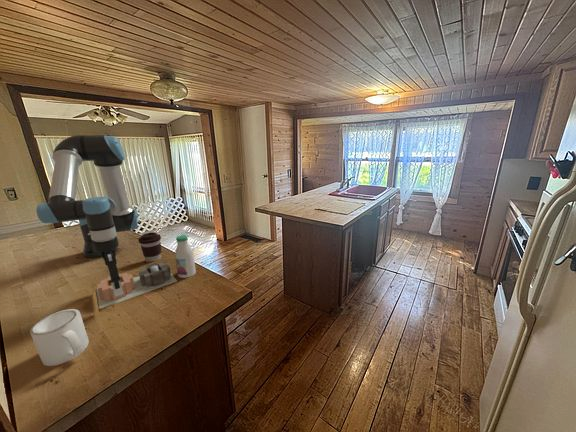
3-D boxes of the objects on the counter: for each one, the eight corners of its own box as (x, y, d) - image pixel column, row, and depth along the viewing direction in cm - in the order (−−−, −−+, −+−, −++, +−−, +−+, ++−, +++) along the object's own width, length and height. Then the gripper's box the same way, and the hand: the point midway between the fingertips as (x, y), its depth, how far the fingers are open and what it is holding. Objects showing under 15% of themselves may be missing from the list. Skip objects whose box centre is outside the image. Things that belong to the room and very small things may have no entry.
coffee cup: (155, 266, 116) (150, 239, 111) (138, 264, 118) (132, 237, 113) (168, 257, 125) (164, 231, 121) (153, 255, 127) (148, 230, 123)
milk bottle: (192, 270, 113) (187, 232, 107) (198, 276, 107) (193, 236, 101) (175, 276, 107) (169, 236, 102) (182, 282, 102) (175, 241, 96)
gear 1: (99, 291, 94) (96, 280, 92) (132, 280, 101) (129, 270, 99) (101, 304, 85) (98, 293, 84) (137, 292, 93) (134, 281, 91)
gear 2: (138, 278, 102) (136, 268, 101) (166, 269, 110) (164, 260, 108) (144, 289, 94) (142, 279, 93) (173, 279, 102) (172, 269, 100)
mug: (103, 345, 70) (95, 317, 67) (61, 375, 61) (49, 343, 58) (76, 333, 75) (67, 305, 71) (34, 358, 65) (21, 328, 62)
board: (97, 292, 95) (92, 276, 93) (167, 270, 112) (164, 256, 110) (100, 312, 84) (95, 294, 82) (177, 284, 101) (175, 269, 99)
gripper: (90, 231, 93) (102, 277, 99) (93, 252, 75) (108, 306, 81) (113, 227, 98) (123, 271, 104) (121, 246, 80) (133, 297, 86)
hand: (116, 287), depth 92 cm, fingers open, 13 cm apart
